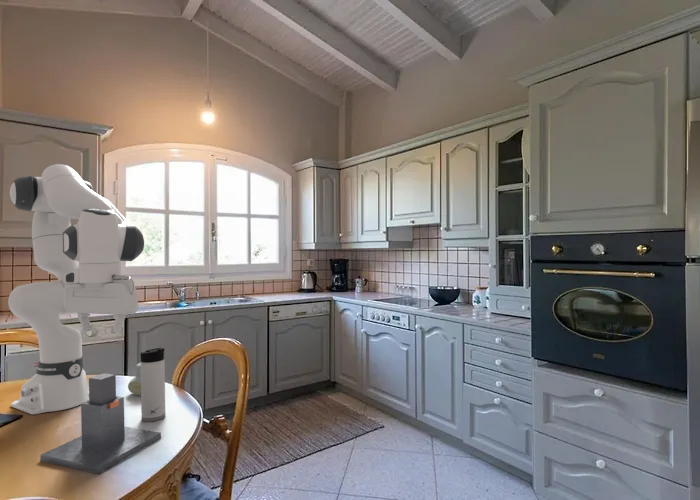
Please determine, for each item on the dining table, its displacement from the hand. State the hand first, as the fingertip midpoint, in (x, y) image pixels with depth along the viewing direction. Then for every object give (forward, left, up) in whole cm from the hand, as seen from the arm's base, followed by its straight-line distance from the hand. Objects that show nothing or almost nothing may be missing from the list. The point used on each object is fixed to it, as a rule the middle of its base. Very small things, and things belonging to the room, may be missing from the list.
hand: (101, 331), depth 103 cm
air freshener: (-22, +35, -29) cm, 50 cm away
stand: (0, 0, -29) cm, 29 cm away
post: (0, 0, -27) cm, 27 cm away
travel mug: (-3, +19, -29) cm, 35 cm away
